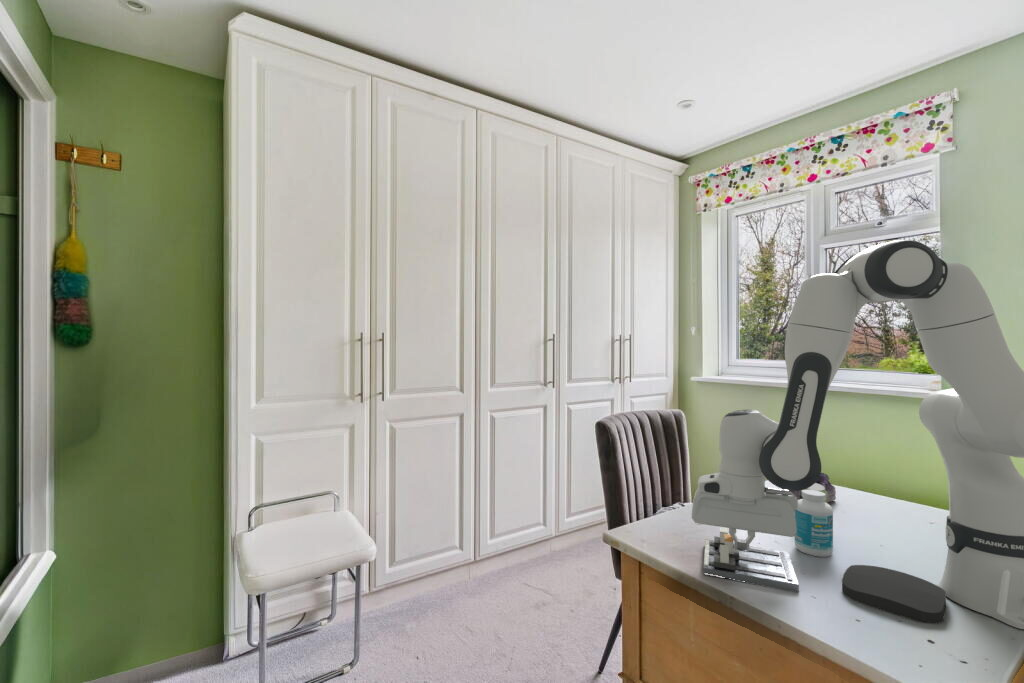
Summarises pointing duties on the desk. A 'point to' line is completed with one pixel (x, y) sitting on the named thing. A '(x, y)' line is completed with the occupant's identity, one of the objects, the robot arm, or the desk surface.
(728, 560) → the breaker
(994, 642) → the desk surface
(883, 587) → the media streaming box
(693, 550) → the desk surface
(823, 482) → the geode
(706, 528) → the desk surface
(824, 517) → the pill bottle
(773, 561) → the panel
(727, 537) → the breaker trip
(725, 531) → the breaker
